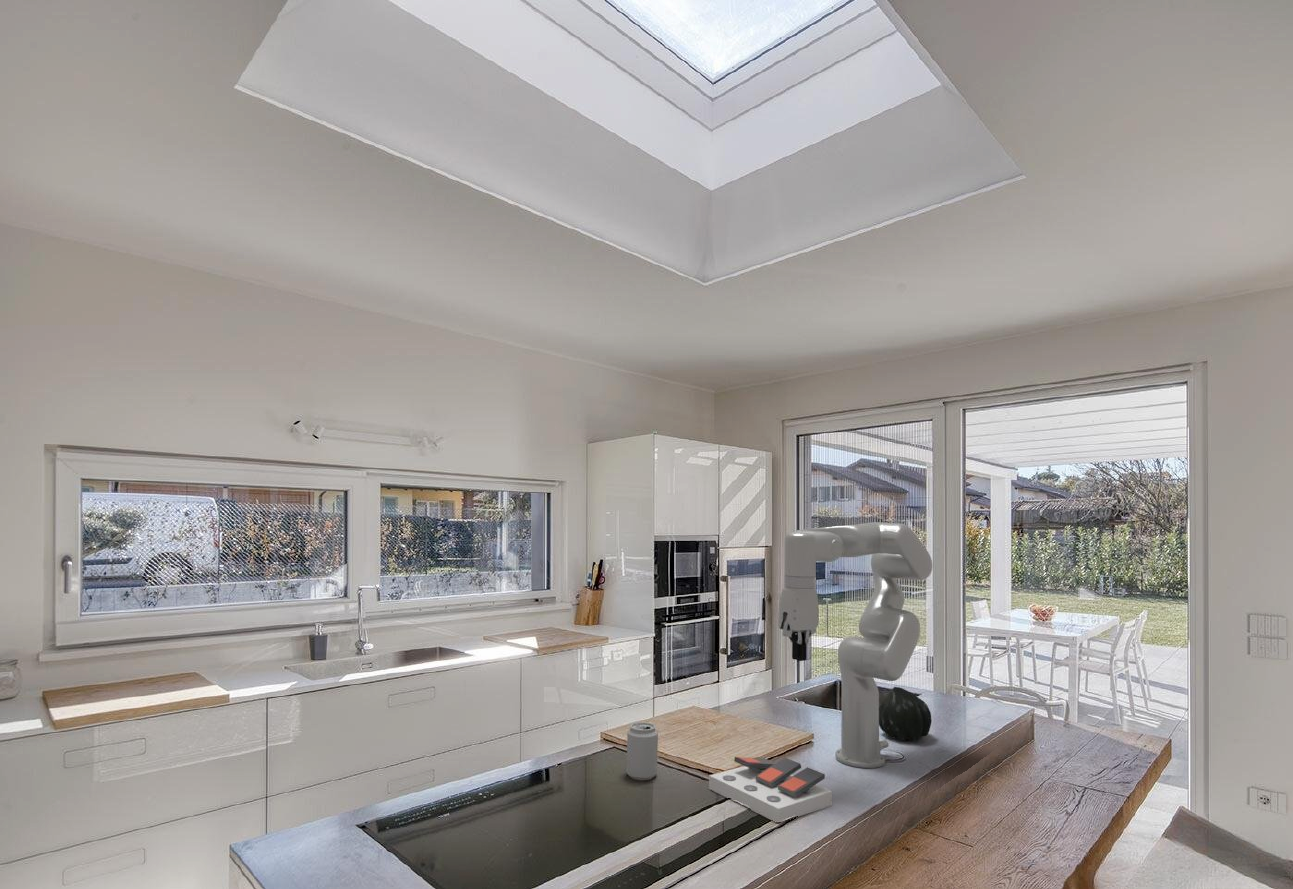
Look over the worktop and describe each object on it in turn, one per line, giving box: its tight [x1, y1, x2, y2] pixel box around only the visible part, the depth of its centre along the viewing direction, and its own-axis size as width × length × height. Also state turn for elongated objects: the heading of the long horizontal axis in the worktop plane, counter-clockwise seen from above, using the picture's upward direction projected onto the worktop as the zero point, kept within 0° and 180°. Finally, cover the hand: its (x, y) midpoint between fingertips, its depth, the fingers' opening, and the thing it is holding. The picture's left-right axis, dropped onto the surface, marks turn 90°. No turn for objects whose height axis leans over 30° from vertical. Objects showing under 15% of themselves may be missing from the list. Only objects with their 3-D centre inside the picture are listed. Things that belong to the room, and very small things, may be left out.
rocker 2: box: [777, 766, 826, 797], centre depth 164 cm, size 10×5×1 cm, turn 126°
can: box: [625, 721, 659, 781], centre depth 178 cm, size 8×8×12 cm
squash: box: [879, 686, 932, 742], centre depth 213 cm, size 14×15×15 cm
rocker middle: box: [755, 757, 802, 788], centre depth 169 cm, size 10×5×1 cm, turn 126°
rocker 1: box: [733, 756, 776, 768], centre depth 175 cm, size 10×5×1 cm, turn 126°
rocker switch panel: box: [708, 765, 833, 822], centre depth 167 cm, size 17×22×4 cm
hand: (799, 659), depth 178 cm, fingers closed
